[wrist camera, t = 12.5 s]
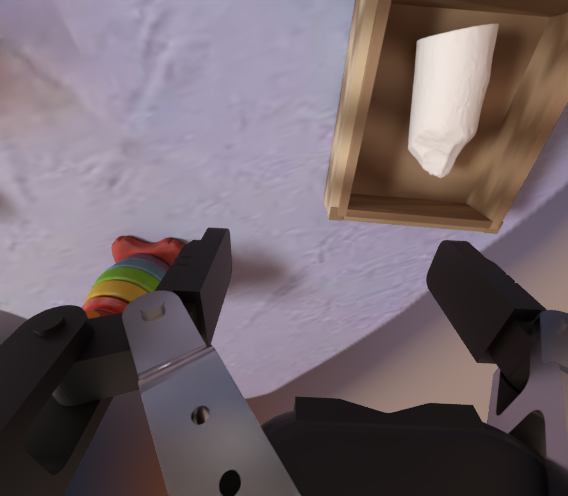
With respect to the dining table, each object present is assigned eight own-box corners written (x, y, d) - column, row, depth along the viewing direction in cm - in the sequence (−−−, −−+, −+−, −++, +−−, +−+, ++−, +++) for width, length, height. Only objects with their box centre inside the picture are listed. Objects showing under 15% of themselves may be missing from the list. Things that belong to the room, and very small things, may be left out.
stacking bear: (185, 237, 38) (112, 338, 23) (195, 292, 43) (141, 403, 28) (111, 234, 38) (-12, 331, 23) (130, 289, 44) (40, 397, 28)
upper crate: (367, -9, 23) (387, -35, 18) (556, 8, 24) (629, -14, 18) (331, 195, 33) (338, 215, 28) (465, 207, 33) (496, 229, 28)
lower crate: (358, -19, 24) (376, -49, 18) (563, -1, 24) (640, -26, 18) (323, 199, 34) (328, 219, 29) (466, 211, 34) (497, 233, 29)
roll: (396, 172, 31) (415, 188, 26) (407, 43, 25) (434, 32, 20) (452, 166, 30) (481, 181, 25) (476, 31, 24) (521, 17, 19)
